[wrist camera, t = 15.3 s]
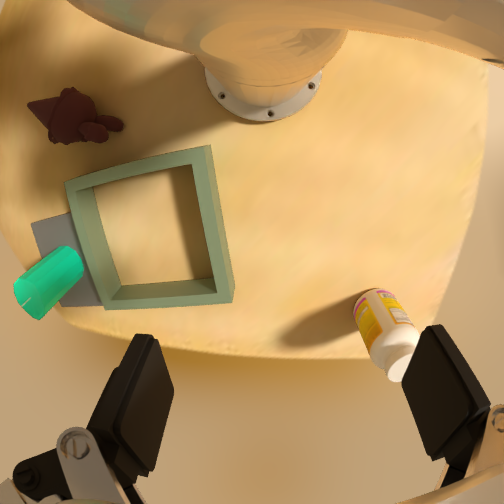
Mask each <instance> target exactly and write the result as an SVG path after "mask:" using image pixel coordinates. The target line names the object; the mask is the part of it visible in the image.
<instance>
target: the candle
mask: <svg viewBox="0 0 504 504" xmlns="http://www.w3.org/2000/svg"><path fill="white" fill-rule="evenodd" d="M83 271H84V267H83V263H82V260H81V258H80V256H79V255H78V254H77V252H76V251H75V250H73V249H72V248H70V247H69V246H60V247H58V248H57V249H56V250H54V251H53V252H51V253H50V254H49V255H47V256H46V257H45V258H43V259H42V260H41V261H40V262H38V263H37V264H36V265H34V266H33V267H32V268H30V269H29V270H28V271H27V272H25V273H24V274H23V275H22V276H21V277H19V278H18V279H17V281H16V282H15V283H14V294H15V296H16V298H17V301H18V303H19V304H20V305H21V306H22V308H23V309H24V310H25V311H26V312H27V313H28V314H29V315H31V316H32V317H33V318H35V319H38V320H40V319H41V318H42V317H43V316H45V314H46V313H47V312H48V311H49V310H50V309H51V308H52V307H53V306H54V305H55V304H56V303H57V302H58V301H59V300H60V299H61V298H62V297H63V295H64V294H65V293H66V292H67V291H68V290H69V289H70V288H71V287H72V286H73V285H74V284H75V283H76V282H77V281H78V280H79V279H80V278H81V277H82V276H83Z"/></svg>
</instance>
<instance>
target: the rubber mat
mask: <svg viewBox="0 0 504 504" xmlns="http://www.w3.org/2000/svg"><path fill="white" fill-rule="evenodd" d="M31 227H32V230H33V233H34V236H35V240H36V243H37V246H38V249H39V251H40V254H41V257H42V259H43V258H45V257H46V256H47V255H49V254H50V253H51V252H53V251H54V250H56V249H57V248H58V247H60V246H69V247H70V248H72V249H73V250H75V251H76V252H77V254H78V255H79V256H80V258H81V260H82V263H83V267H84V271H83V276H82V277H81V278H80V279H79V280H78V281H77V282H76V283H75V284H74V285H73V286H72V287H71V288H70V289H69V290H68V291H67V292H66V293H65V294H64V295H63V297H62V298H61V299H60V300H59V302H60V304H61V306H62V307H78V306H103V304H102V301H101V299H100V296H99V294H98V291H97V289H96V286H95V284H94V281H93V278H92V276H91V273H90V270H89V267H88V264H87V262H86V259H85V256H84V253H83V250H82V247H81V244H80V240H79V237H78V234H77V231H76V227H75V224H74V220H73V217H72V213H71V212H70V213H66V214H63V215H59V216H55V217H52V218H48V219H44V220H41V221H37V222H34V223H31Z"/></svg>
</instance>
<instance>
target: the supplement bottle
mask: <svg viewBox="0 0 504 504" xmlns="http://www.w3.org/2000/svg"><path fill="white" fill-rule="evenodd" d="M353 316H354V319H355V322H356V324H357V327H358V329H359V331H360V334H361V336H362V338H363V341H364V343H365V345H366V348H367V350H368V353H369V355H370V358H371V360H372V362H373V363H374V364H375V365H376V366H377V367H379V368H381V369H384V370H385V373H386V375H387V377H388V379H389V380H391V381H393V382H401V381H402V378H403V376H404V373H405V371H406V369H407V367H408V364H409V362H410V360H411V357H412V355H413V353H414V350H415V348H416V345H417V343H418V340H419V338H420V336H419V333H418V331H417V329H416V328H415V326H414V325H413V323H412V322H411V320H410V319H409V317H408V316H407V314H406V313H405V311H404V310H403V308H402V307H401V305H400V304H399V302H398V301H397V299H396V298H395V296H394V295H393V294H392V293H391V292H390V291H388V290H386V289H381V288H378V289H373V290H370V291H368V292H366V293H364V294H363V295H362V296H361V297H360V298H359V299H358V300H357V302H356V304H355V306H354V310H353Z"/></svg>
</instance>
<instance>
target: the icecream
mask: <svg viewBox="0 0 504 504" xmlns="http://www.w3.org/2000/svg"><path fill="white" fill-rule="evenodd" d="M27 107H28V108H29V109H30V110H31V111H32V113H33V114H34V115H35V116H36V117H37V118H38V119H39V120H40V121H41V122H42V124H43V125H44V126H45V127H46V128H47V129H48V138H49V140H50V141H51V142H53V143H54V144H56V143H59V142H60V143H63V144H65V145H68V144H70V143H74V142H79V141H82V142H87V141H92V142H95V143H104V142H106V141H107V140H108V138H109V133H108V131H114V132H119V131H122V130H123V127H124V125H123V123H122V121H121V120H119V119H117V118H115V117H112V116H105V115H101V116H97V112H96V108H95V105H94V102H93V101H92V100H91V99H90V97H88V96H86V95H84V94H82V93H80V92H79V91H77V90H76V89H75V88H74V87H72V88H65V89H63V91H62V92H61V94H60V97H54V98H49V99H43V100H38V101H33V102H29V103H28V104H27Z"/></svg>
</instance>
